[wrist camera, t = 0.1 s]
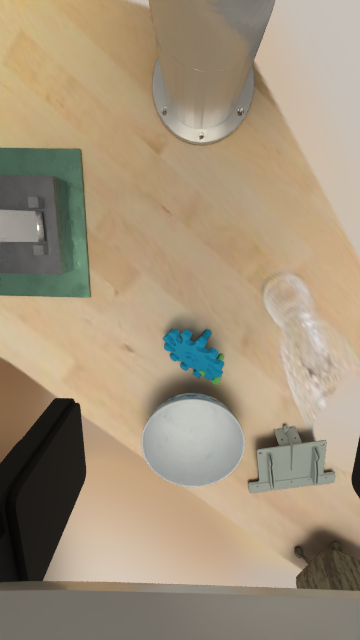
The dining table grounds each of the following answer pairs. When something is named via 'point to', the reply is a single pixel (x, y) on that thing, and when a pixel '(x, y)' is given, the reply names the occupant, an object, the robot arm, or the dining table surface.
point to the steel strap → (21, 226)
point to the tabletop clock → (329, 571)
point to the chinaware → (192, 440)
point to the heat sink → (45, 223)
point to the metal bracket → (291, 463)
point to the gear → (195, 354)
